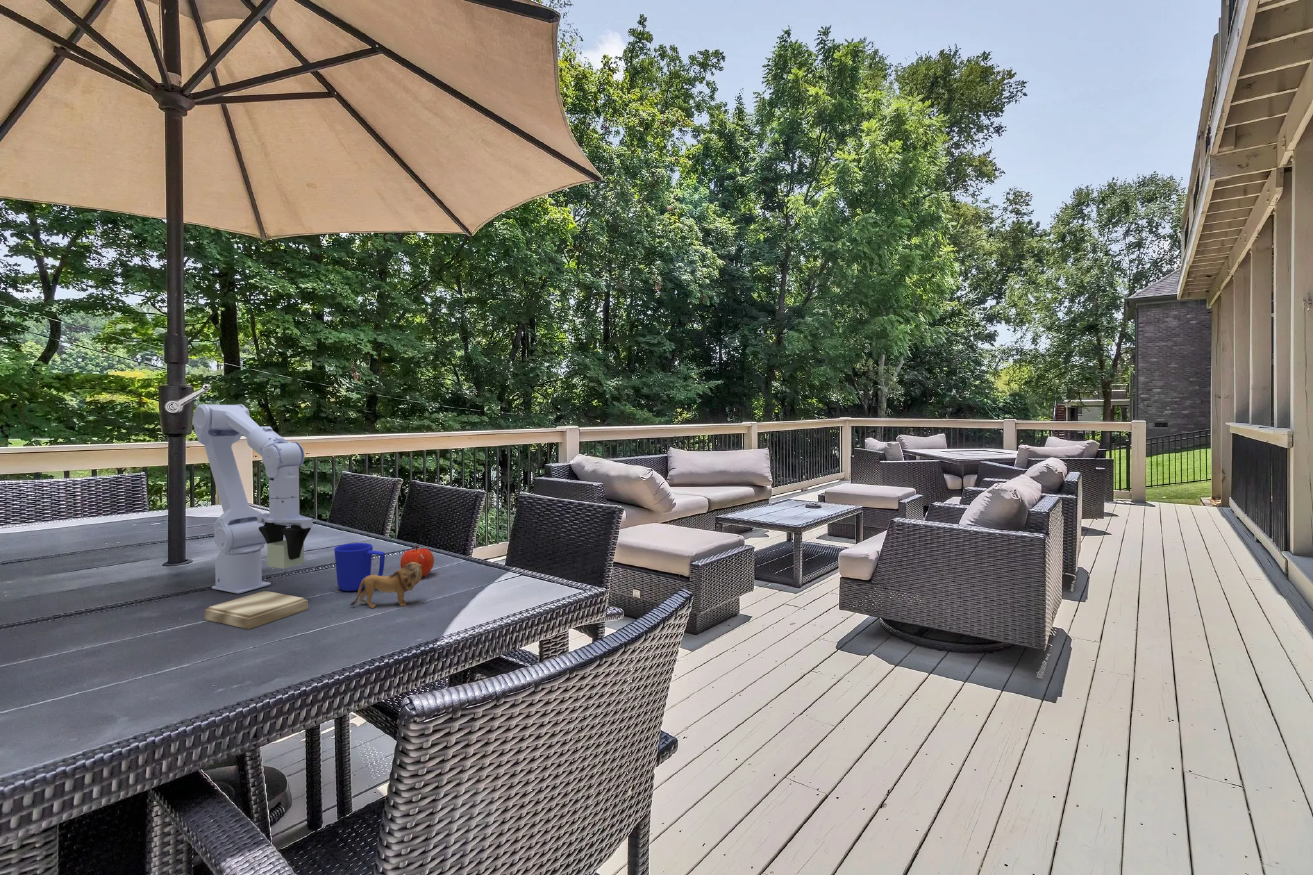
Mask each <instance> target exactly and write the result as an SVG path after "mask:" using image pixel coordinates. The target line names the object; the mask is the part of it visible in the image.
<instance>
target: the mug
mask: <svg viewBox="0 0 1313 875" xmlns="http://www.w3.org/2000/svg"><path fill="white" fill-rule="evenodd" d="M373 547H374V546H373V545H372V544H371V543H366V542H354V543H353V542H351V543H346V544H345V543H344V544H340V545H337V546H335V547H334V549H333V550H334V562H335V571H336V582H337V587H338V588H339V590H341V591H344V592H356V591H357V592H358V590H359V587H360V584H361V582H362V580H363V579H364V578H365V577H367V576H369V575H372V574H371V573H372V571H371V570H372V561H373V560H372V559H373V555H377V556H379V568H378V576H383V575H384V570H385V569H384V568H385V560H386V553H385V552H384V551H379V550H373ZM364 589H365V584H364V585H363V588H362V590H364Z"/></svg>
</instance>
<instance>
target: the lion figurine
mask: <svg viewBox="0 0 1313 875" xmlns="http://www.w3.org/2000/svg"><path fill="white" fill-rule="evenodd" d="M422 578H423V577H422V570H421V565H420V564H419V563H416V562H411V563H408V564H407V565H406V566H405V567H403V568H402V569H401V568H399V569H398V570H396V571H394V573H392V574H391V575H388V576H386V575H385V576H383V575H382V576H378V575H377V574H371V575H369V576H367V577H365V578H364V579H363V580H362V582H361V584H360V587H359V590H357V594H356V597H355V599H354V600H353V601H352V602H351V603H350V604H349V606H354V605H355V604H356V603H358V602H359V605H365V604H368V607H369V608H370V609H375V608H376V607H377V605H376V604H375V603H373V602H372V598H373V595H374V593H375V590H376V591H379V592H380V593H384V594H392V593H396V594H397V599H396V600H397V602H398V603H399V606H400V607H405V606H406V605H407V603H406V600H405V599H404V598H405V593H406V592H410V591H413V589H414V587H416V585H417V584H419V583H420V582H421V579H422ZM364 584H365V588H364V589H362V588H363V585H364ZM362 590H363V591H362ZM365 597H366V600H364V599H365Z"/></svg>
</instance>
